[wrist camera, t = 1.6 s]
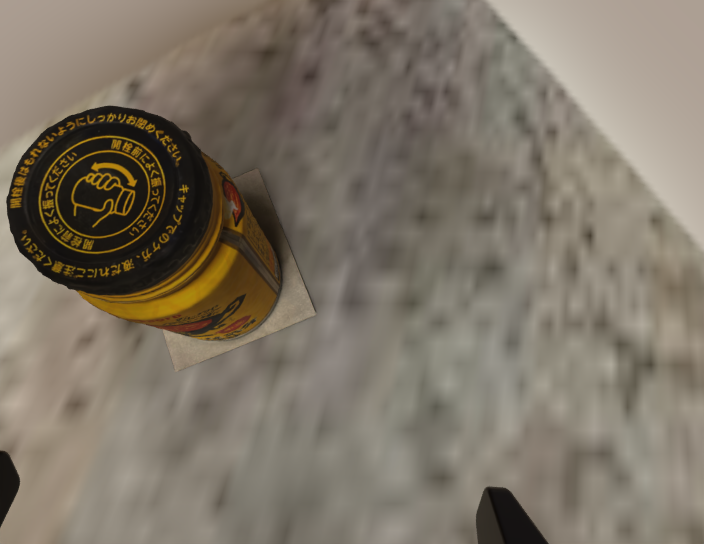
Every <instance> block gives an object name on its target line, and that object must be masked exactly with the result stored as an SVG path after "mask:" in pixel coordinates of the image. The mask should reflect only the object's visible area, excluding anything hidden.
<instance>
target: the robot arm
mask: <svg viewBox="0 0 704 544" xmlns="http://www.w3.org/2000/svg"><path fill="white" fill-rule="evenodd" d="M19 485H20V477H19V475H18V473H17V470H16V468H15V466H14V464H13V462H12V460H11V457H10V455H9V454H8V453H7V452H5V451H0V527H1V525H2V523H3V521H4V519H5V517H6V515H7V513H8V511H9V509H10V507H11V504H12V502H13V500H14V498H15V496H16V494H17V492H18V489H19ZM476 528H477V538H478V544H549V543H548V542H547V541H546V539H545V538H544V537H543V535H542V534H541V533H540V531H539V530H538V528H537V527H536V526H535V524H534V523H533V522H532V520H531V519H530V518H529V516H528V515H527V513H526V512H525V511H524V509H523V508H522V507H521V505H520V504H519V502H518V501H517V500H516V498H515V497H514V496H513V494H512V493H511V492H510V491H509V490H508V489H506V488H503V487H486V488H485V489H484V491H483V494H482V497H481V501H480V504H479V507H478V510H477V514H476Z"/></svg>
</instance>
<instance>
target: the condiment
mask: <svg viewBox="0 0 704 544" xmlns="http://www.w3.org/2000/svg"><path fill="white" fill-rule="evenodd" d="M6 203H7V215H8V219H9V224H10V230H11V233H12V234H13V236H14V240H15V243H16V245H17V247H18V249H19V252H20V253H21V254H23V255H24V256H25V257H26V258H27V259H28V260H30V261H31V262H32V263H33V264H34V266H35V267H36V268H37V270H38V271H39V272H41V273H42V275H44V276H46V277H48V278H49V279H51V280H52V281H54V282H56V283H58V284H63V285H65V286H67V288H68V289H74V290H76V291H77V292H78V293H79V294H80V295H81V296H82V298H83V299H85V300H86V301H88V302H89V303H90V304H92V305H93V306H95V307H97V308H99V309H101V310H103V311H105V312H108V313H109V314H111V315H114V316H116V317H118V318H122V319H125V320H128V321H131V322H135V323H142V324H146V325H149V326H154V327H156V328H160V329H162V330H163V333H164V336H165V339H166V343H167V346H168V349H169V352H170V355H171V358H172V362H173V365H174V370H175V372H177V371H179V370H182V369H184V368H187V367H189V366H192V365H194V364H197V363H200V362H202V361H204V360H207V359H209V358H212V357H215V356H217V355H219V354H222V353H225V352H227V351H229V350H232V349H234V348H237V347H239V346H242V345H244V344H247V343H249V342H251V341H254V340H256V339H259V338H261V337H264V336H266V335H269V334H271V333H274V332H276V331H278V330H281V329H284V328H285V327H287V326H290V325H293V324H295V323H298V322H300V321H302V320H305V319H307V318H310V317H312V316H315V315H316V313H315V310H314V308H313V305H312V303H311V300H310V298H309V295H308V293H307V290H306V288H305V285H304V283H303V280H302V278H301V275H300V272H299V270H298V267H297V265H296V262H295V260H294V257H293V255H292V252H291V250H290V247H289V245H288V242H287V240H286V237H285V235H284V232H283V230H282V227H281V225H280V222H279V220H278V217H277V215H276V212H275V209H274V207H273V204H272V202H271V199H270V197H269V194H268V192H267V189H266V187H265V184H264V182H263V179H262V177H261V174H260V172H259V169H258V168H256V169H254V170H252V171H249V172H246V173H244V174H242V175H240V176H238V177H235V178H232V179H231V178H230V176H229V175H228V173H227V172H226V171H225V170H224V169H223V168H222V167H221V166H220V165H219V164H218V163H217V162H215V161H214V160H213V159H211V158H210V157H209V156H207V155H206V154H204V153H203V152H202V151H201V150H200V149H199V148H198V147H197V146H196V145H195V144H194V143H193V142H192V140H191V136H190V135H189V133H188V132H186V131H183V130H181V129H180V128H178V127H177V126H176V125H175V124H174V123H173V122H170V121H168V120H166V119H165V118H163V117H160V116H158V115H154V114H151V113H147V112H145V111H143V110H138V109H131V108H124V107H118V106H104V107H99V108H95V109H90V110H86V111H84V112H82V113H78V114H75V115H70V116H68V117H67V118H65V119H64V120H62V121H60V122H58V123H57V124H55V125H53V126H51V127H49V128H47V129H46V130H45V131H44V132H43V133H41V135H40V136H39V137H38V138H37V139H36V141H35V142H34V143H33V144H32V145H31V146H30V147H29V148H28V150H27V151H26V152H25V153H24V155H23V156H22V158H21V159H20V161H19V163H18V165H17V167H16V170H15V172H14V175H13V179H12V182H11V186H10V190H9V194H8V196H7V200H6Z"/></svg>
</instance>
